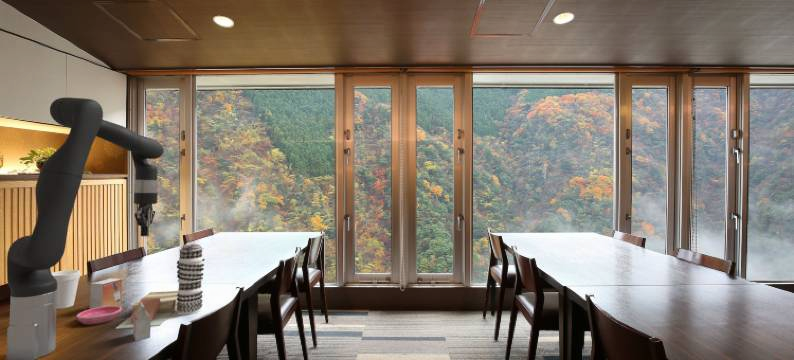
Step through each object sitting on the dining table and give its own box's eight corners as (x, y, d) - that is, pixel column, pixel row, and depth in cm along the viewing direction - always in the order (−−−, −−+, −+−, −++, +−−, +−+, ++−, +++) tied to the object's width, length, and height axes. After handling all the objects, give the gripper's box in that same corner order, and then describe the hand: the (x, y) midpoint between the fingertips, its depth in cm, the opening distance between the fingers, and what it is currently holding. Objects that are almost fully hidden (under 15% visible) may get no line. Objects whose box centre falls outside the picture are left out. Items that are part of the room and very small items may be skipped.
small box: (101, 312, 133) (102, 284, 133) (89, 311, 134) (90, 283, 134) (121, 305, 141) (122, 278, 141) (110, 304, 142) (111, 277, 142)
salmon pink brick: (151, 321, 124) (150, 316, 123) (131, 322, 123) (130, 317, 122) (160, 303, 132) (159, 298, 131) (142, 304, 130) (141, 299, 130)
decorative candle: (179, 307, 139) (180, 243, 139) (205, 305, 142) (207, 243, 142) (172, 316, 130) (173, 247, 131) (200, 313, 133) (202, 246, 133)
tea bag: (146, 331, 117) (147, 300, 117) (150, 337, 112) (151, 305, 112) (132, 334, 114) (133, 303, 114) (135, 341, 109) (136, 308, 109)
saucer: (66, 325, 121) (66, 316, 121) (102, 312, 133) (102, 304, 133) (96, 328, 119) (97, 318, 119) (130, 315, 131) (130, 306, 131)
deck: (172, 313, 133) (172, 302, 133) (132, 316, 130) (132, 305, 130) (185, 300, 148) (185, 290, 148) (150, 302, 145) (150, 292, 145)
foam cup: (41, 307, 137) (43, 273, 137) (72, 301, 145) (73, 269, 146) (52, 311, 133) (53, 276, 133) (83, 304, 141) (84, 271, 141)
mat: (160, 325, 121) (160, 324, 121) (115, 329, 118) (115, 328, 118) (172, 313, 133) (172, 312, 133) (132, 316, 130) (132, 315, 130)
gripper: (149, 192, 134) (148, 238, 133) (163, 191, 146) (161, 233, 146) (126, 191, 132) (125, 238, 131) (142, 191, 144) (140, 234, 144)
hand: (144, 236), depth 139 cm, fingers closed
